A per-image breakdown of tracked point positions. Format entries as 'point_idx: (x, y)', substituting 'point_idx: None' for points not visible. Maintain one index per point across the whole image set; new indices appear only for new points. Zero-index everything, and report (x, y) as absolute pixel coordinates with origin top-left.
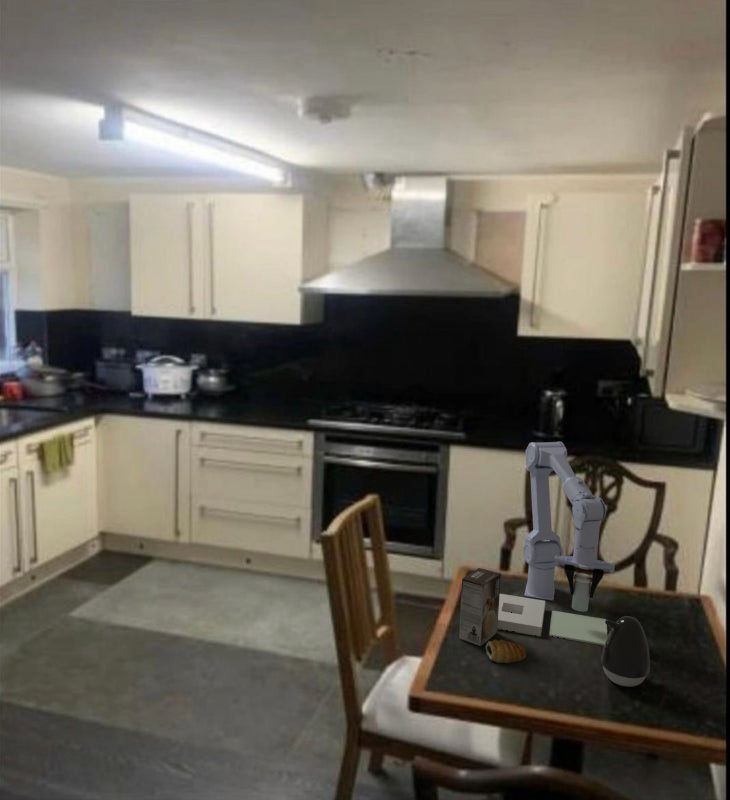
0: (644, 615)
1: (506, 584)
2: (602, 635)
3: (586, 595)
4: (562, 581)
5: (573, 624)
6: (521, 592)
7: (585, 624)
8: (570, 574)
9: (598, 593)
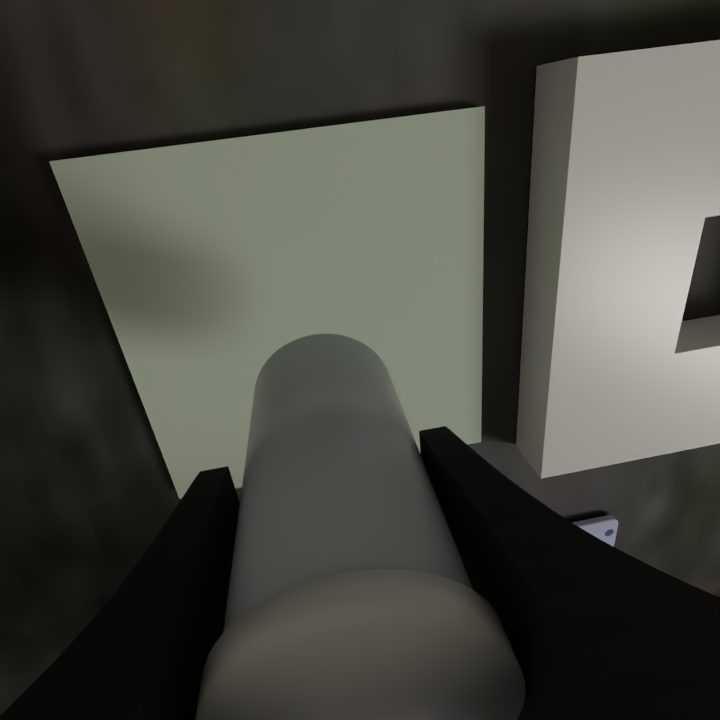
0: (24, 637)
1: (682, 569)
2: (133, 287)
3: (263, 456)
4: None
5: None
6: (622, 540)
7: None
8: (689, 654)
9: None
